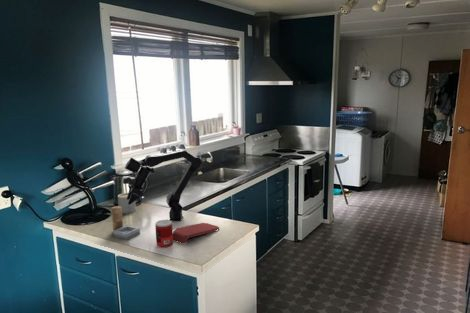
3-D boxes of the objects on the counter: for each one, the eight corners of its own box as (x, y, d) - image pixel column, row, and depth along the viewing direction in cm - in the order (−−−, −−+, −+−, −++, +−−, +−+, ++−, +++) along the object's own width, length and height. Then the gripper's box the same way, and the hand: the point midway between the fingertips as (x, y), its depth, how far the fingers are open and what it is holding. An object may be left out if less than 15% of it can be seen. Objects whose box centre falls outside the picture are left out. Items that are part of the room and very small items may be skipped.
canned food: (175, 242, 179) (174, 220, 177) (167, 248, 172) (166, 226, 170) (161, 240, 182) (160, 218, 180) (153, 246, 175) (152, 224, 173)
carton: (203, 231, 203) (169, 239, 183) (204, 222, 203) (170, 229, 183) (220, 236, 196) (186, 245, 176) (220, 227, 195) (187, 235, 176)
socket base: (127, 230, 195) (126, 225, 194) (139, 233, 190) (139, 228, 190) (114, 236, 187) (113, 230, 186) (126, 239, 182) (126, 234, 182)
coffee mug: (126, 214, 219) (125, 198, 218) (115, 211, 225) (114, 195, 223) (143, 208, 230) (142, 193, 228) (132, 205, 236) (131, 190, 234)
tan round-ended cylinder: (124, 229, 196) (123, 206, 193) (120, 233, 191) (118, 209, 188) (116, 229, 196) (114, 206, 194) (111, 232, 192) (109, 209, 189)
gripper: (127, 166, 205) (113, 191, 205) (129, 173, 188) (115, 200, 188) (145, 175, 210) (131, 199, 209) (149, 183, 192) (134, 209, 192)
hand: (128, 201), depth 200 cm, fingers open, 9 cm apart
